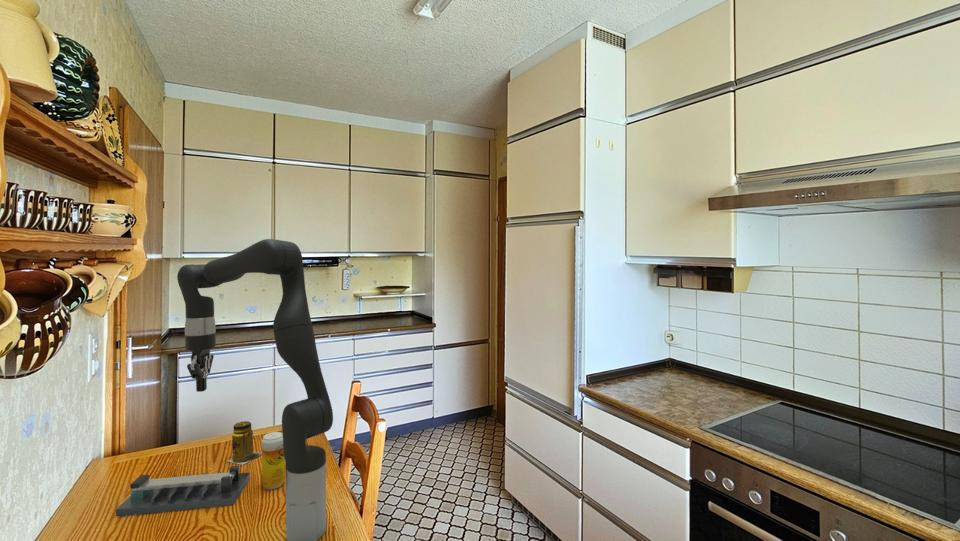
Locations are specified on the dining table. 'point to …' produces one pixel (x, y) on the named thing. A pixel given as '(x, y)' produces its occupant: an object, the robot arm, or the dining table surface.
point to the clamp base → (186, 496)
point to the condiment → (243, 443)
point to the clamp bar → (177, 481)
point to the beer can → (273, 460)
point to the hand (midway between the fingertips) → (201, 390)
